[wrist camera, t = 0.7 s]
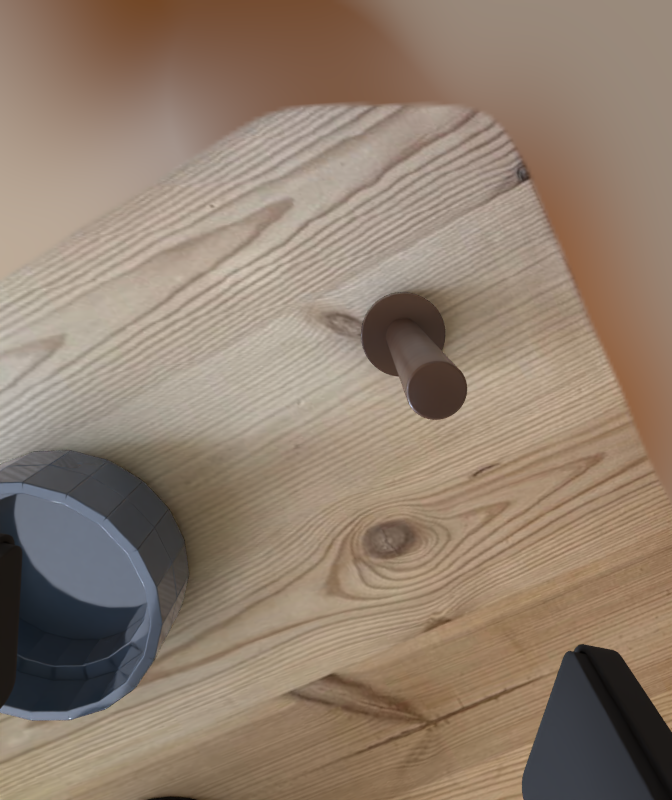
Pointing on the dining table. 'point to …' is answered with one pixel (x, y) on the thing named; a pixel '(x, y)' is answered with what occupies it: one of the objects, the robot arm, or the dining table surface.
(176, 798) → the lantern
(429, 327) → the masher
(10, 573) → the robot arm
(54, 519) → the bowl
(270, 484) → the dining table surface
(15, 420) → the dining table surface
